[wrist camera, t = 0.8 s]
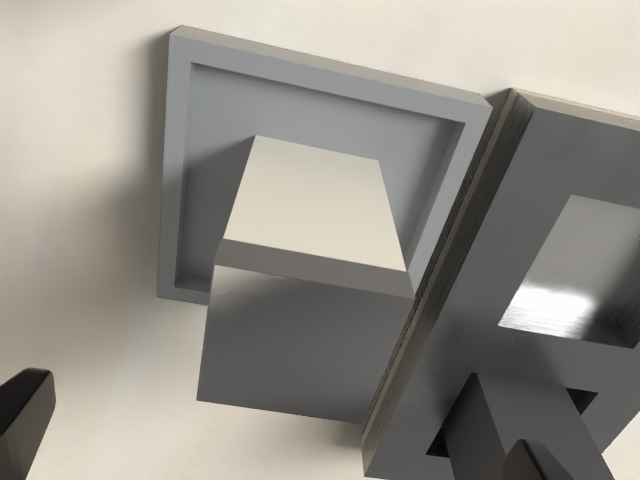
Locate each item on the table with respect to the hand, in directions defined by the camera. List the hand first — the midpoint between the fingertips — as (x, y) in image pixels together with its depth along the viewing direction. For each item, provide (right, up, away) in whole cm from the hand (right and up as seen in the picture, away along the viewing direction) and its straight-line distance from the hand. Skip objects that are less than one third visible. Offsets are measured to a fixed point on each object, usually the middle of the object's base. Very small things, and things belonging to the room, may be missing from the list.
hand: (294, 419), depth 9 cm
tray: (0, +5, +8) cm, 9 cm away
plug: (0, +5, +7) cm, 9 cm away
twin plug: (+8, -4, +13) cm, 16 cm away
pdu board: (+9, 0, +11) cm, 14 cm away
